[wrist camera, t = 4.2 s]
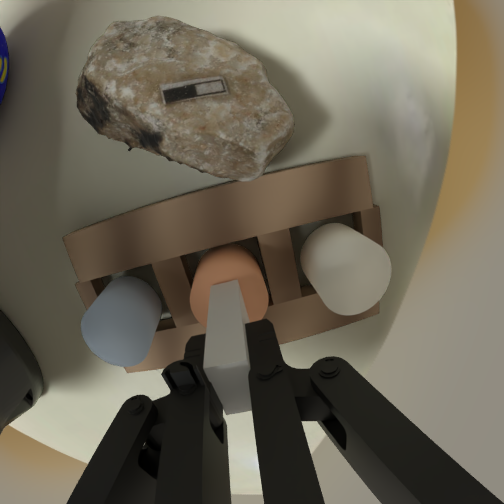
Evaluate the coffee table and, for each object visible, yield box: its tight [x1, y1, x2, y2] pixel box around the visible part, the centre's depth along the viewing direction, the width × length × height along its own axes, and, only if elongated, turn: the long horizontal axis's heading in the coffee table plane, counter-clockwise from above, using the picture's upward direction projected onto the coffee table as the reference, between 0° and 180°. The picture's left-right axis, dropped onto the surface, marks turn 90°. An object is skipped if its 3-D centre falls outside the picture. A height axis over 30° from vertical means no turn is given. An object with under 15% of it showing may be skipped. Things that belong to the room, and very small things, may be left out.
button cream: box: [300, 223, 391, 315], centre depth 16 cm, size 4×4×4 cm
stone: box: [76, 16, 295, 182], centre depth 12 cm, size 7×12×7 cm, turn 70°
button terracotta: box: [190, 243, 269, 328], centre depth 17 cm, size 4×4×4 cm
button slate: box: [81, 276, 162, 367], centre depth 16 cm, size 4×4×4 cm
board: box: [62, 156, 383, 373], centre depth 19 cm, size 22×12×2 cm, turn 103°
